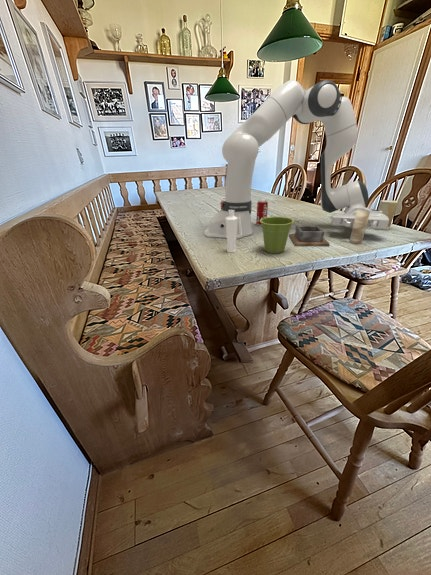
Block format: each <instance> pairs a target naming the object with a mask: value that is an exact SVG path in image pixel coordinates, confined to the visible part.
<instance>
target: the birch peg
mask: <svg viewBox="0 0 431 575" xmlns="http://www.w3.org/2000/svg"><path fill="white" fill-rule="evenodd" d="M369 214H370V212H369V211H363V210H360V211H357V212H356V216H355V220H354V225H353V228H351V234H350V238H349V244H353V245H361V244H363V240H364V236H365V234H366V229H367V227H366V225H367V222H368V218H369Z"/></svg>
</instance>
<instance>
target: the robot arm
mask: <svg viewBox="0 0 431 575" xmlns="http://www.w3.org/2000/svg"><path fill="white" fill-rule="evenodd" d="M292 118H293V119H295V121H296V122H297V123H299V124H301V125H309V124H312V123H314V122H317V121H320V122H321V123H322V125H323V127H324V130H325V131H324V132H325V137H326V138H325V139H326V145H325V149H324V150H323V151H322V153H321V156H320V188H321V190H320V191H321V194H320V206H321V208H322V211H324V212H326V213H329V214H331V213H333V214H332V215H330V219H331V221H330V225H331V226H341V227H342V226H343V227H347V228H351V229H353V225H354V220H355V216H356V212H357V211H360V210H363V211H369V212H370V214H369V218H368V222H367V225H366V228H369V229H373V230H375V229H374V228H387V226H388V222H389V218H388V217H387V216H386V215H385V214H382V211H379V210H378V209H372V208H368V207H366V206H367V205H368V202H369V198H370V197H369V192H368V188H367V186H366V184H365V183H364V182H362V181H361V180H355V181H352V182H349V183H347V184H344V185H341V186H337V187H334V188H332V185H331V184H332V182H331V179H332V178H331V170H332V168H333V166H334V165H335V164H336V162H338V161H339V160H340V159H341V158H342V157H343V156H345V155H346V154H347V153H349V152H350V151H351V150H352V149H353V147H354V146H355V144H356V143H357V140H358V126H357V125H358V124H357V120H356V118H357V117H356V114H355V110H354V107H353V105H352V101H351V100H350V98H349V97H347V96H343V94H342V93H341V92H340V89H339V87H338V85H337V84H336V83H335V82H334V81H332V80H329V79H325V80H324V79H323V80H321V81H318V82H317V83H315V84H314V85H312V86H311V87H310V88H308V89H306V88H305V89H304V88H303V86H302V84H300V82H299V81H297V80H295V79H290V80H287V81H286V82H284V83H283V84H281V85H280V86H279V87H278V88H276V90H274V91H273V92H272V93H271V94H270V95H269V96H267V98H266V100H264V101H263V103H261V105H260V106H259V107H258V108H257V109H255V111H254V112H253V113H252V114H251V115H250V116H249V117H248V118H247V119H246V120H245V121H244V122H243V123H242V124H241V125H239V126H238V127H237V128H236V129H235V130H234V131H233V132H232V133H231V134H230V135H229V136H228V137H227V138H226V139H225V141H224V142H223V144H222V149H221V150H222V157H223V159H224V160H225V161H226V162H227V169H226V177H225V181H224V182H225V183H224V190H225V192H224V194H225V195H224V196H225V198H224V199H225V200H221V201H220V210H219V211H218V212H217V213H216V214H214V215H213V216H212V217H211V218H210V220H209V222H208V224H209V225H208V227H207V228H205V230H204V232H203V234H204V236H205V237H207V238H225V239H227V234H226V220H225V218H226V217H228V216H229V210H235V211H234V216H235V217H237V218H238V224H237V236H236V240H238V239H241V238H243V237H248V236H251V235H252V234H254V230H253V226H252V211H253V207H252V206H253V203H252V200H251V199H252V198H251V197H252V181H253V175H254V170H255V165H256V160H257V157H258V155H259V151H260V150H259V148H260V147H261V146H262V145H263V144H265V143H266V142H268V141H269V140H271V139H272V138H273V136H274V135H275V134H276V133H278V131H279V130H280V129H282V127H283V126H284V125H285V124H286V123H287V122H288V121H289V120H290V119H292ZM342 209H345V210H344V212H343V213H342V212H337V213H334V212H336V211H338V210H342Z"/></svg>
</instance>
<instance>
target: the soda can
mask: <svg viewBox="0 0 431 575" xmlns="http://www.w3.org/2000/svg"><path fill="white" fill-rule="evenodd" d="M268 209H269V202H268V199H258V201H257V203H256V221H255V222H256V223H255V224H256V225H257V226H260V227H262V224H261V222H260V220H261V219H263V218H267V217H268Z"/></svg>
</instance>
